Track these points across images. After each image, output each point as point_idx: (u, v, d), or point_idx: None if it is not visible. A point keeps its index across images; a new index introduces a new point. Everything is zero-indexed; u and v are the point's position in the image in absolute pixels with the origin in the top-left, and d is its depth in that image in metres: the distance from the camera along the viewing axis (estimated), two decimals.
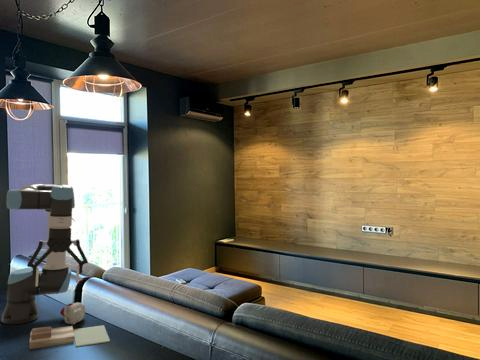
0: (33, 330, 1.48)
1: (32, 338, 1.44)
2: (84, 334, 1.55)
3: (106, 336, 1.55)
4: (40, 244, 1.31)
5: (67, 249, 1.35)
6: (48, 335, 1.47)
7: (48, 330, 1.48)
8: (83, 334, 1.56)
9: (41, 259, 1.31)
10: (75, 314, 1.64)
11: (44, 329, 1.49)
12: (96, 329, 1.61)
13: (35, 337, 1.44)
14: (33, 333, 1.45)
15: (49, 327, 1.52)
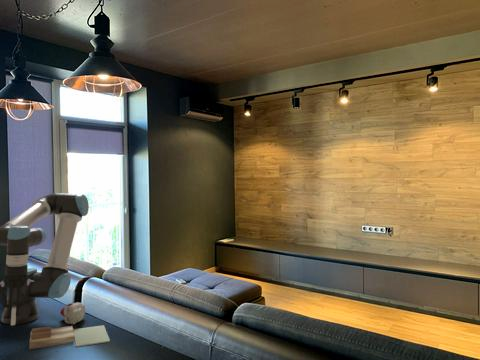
0: (33, 330, 1.48)
1: (32, 338, 1.44)
2: (84, 334, 1.55)
3: (106, 336, 1.55)
4: None
5: (18, 287, 1.43)
6: (48, 335, 1.47)
7: (48, 330, 1.48)
8: (83, 334, 1.56)
9: (10, 299, 1.42)
10: (75, 314, 1.64)
11: (44, 329, 1.49)
12: (96, 329, 1.61)
13: (35, 337, 1.44)
14: (33, 333, 1.45)
15: (49, 327, 1.52)
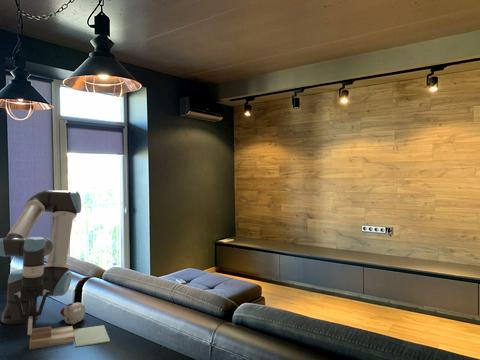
0: (33, 330, 1.48)
1: (32, 338, 1.44)
2: (84, 334, 1.55)
3: (106, 336, 1.55)
4: (16, 297, 1.43)
5: (35, 297, 1.46)
6: (48, 335, 1.47)
7: (48, 330, 1.48)
8: (83, 334, 1.56)
9: (27, 309, 1.45)
10: (75, 314, 1.64)
11: (44, 329, 1.49)
12: (96, 329, 1.61)
13: (35, 337, 1.44)
14: (33, 333, 1.45)
15: (49, 327, 1.52)
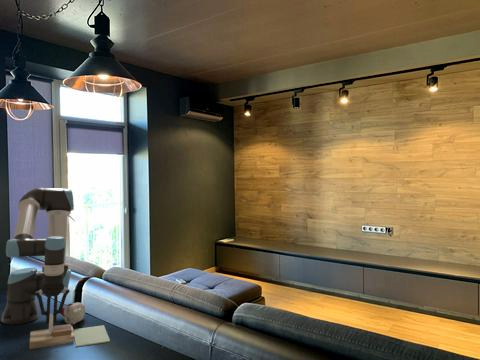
0: (54, 328, 1.51)
1: (53, 335, 1.47)
2: (84, 334, 1.55)
3: (106, 336, 1.55)
4: (37, 295, 1.47)
5: (55, 295, 1.49)
6: (69, 332, 1.50)
7: (69, 328, 1.52)
8: (83, 334, 1.56)
9: (48, 306, 1.48)
10: (75, 314, 1.64)
11: (64, 327, 1.53)
12: (96, 329, 1.61)
13: (56, 334, 1.48)
14: (54, 330, 1.48)
15: (69, 325, 1.55)
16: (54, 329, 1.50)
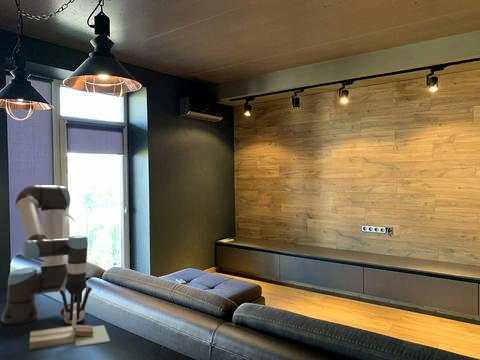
0: (76, 326, 1.56)
1: (76, 334, 1.51)
2: None
3: (106, 336, 1.55)
4: (61, 293, 1.51)
5: (79, 293, 1.53)
6: (90, 334, 1.54)
7: (91, 329, 1.56)
8: None
9: (71, 304, 1.52)
10: None
11: (86, 327, 1.57)
12: (96, 329, 1.61)
13: (79, 333, 1.52)
14: (77, 329, 1.53)
15: (90, 326, 1.59)
16: (77, 328, 1.54)
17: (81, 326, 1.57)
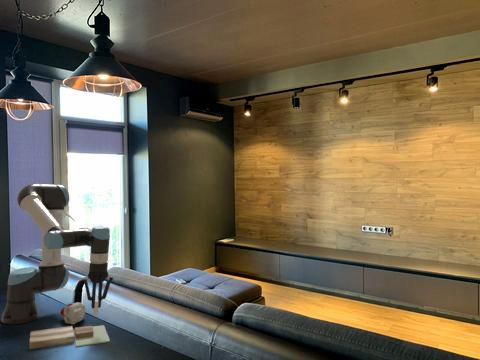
0: (76, 329, 1.55)
1: (76, 337, 1.51)
2: None
3: (106, 336, 1.55)
4: (84, 281, 1.55)
5: (101, 282, 1.58)
6: (91, 334, 1.54)
7: (91, 330, 1.56)
8: None
9: (94, 292, 1.57)
10: (75, 314, 1.64)
11: (86, 328, 1.57)
12: (96, 329, 1.61)
13: (79, 336, 1.52)
14: (77, 332, 1.53)
15: (90, 326, 1.59)
16: (77, 330, 1.54)
17: (81, 328, 1.57)
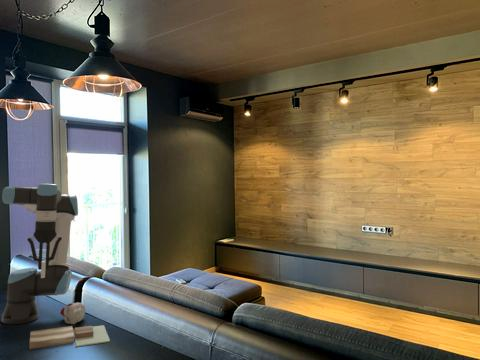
0: (76, 329, 1.55)
1: (76, 337, 1.51)
2: None
3: (106, 336, 1.55)
4: (29, 240, 1.46)
5: (48, 241, 1.49)
6: (91, 334, 1.54)
7: (91, 330, 1.56)
8: None
9: (40, 252, 1.48)
10: (75, 314, 1.64)
11: (86, 328, 1.57)
12: (96, 329, 1.61)
13: (79, 336, 1.52)
14: (77, 332, 1.53)
15: (90, 326, 1.59)
16: (77, 330, 1.54)
17: (81, 328, 1.57)
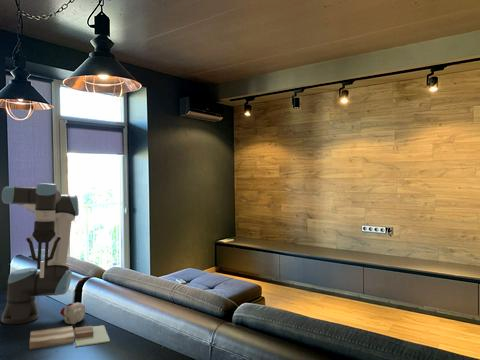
0: (76, 329, 1.55)
1: (76, 337, 1.51)
2: None
3: (106, 336, 1.55)
4: (28, 240, 1.46)
5: (47, 241, 1.49)
6: (91, 334, 1.54)
7: (91, 330, 1.56)
8: None
9: (39, 252, 1.48)
10: (75, 314, 1.64)
11: (86, 328, 1.57)
12: (96, 329, 1.61)
13: (79, 336, 1.52)
14: (77, 332, 1.53)
15: (90, 326, 1.59)
16: (77, 330, 1.54)
17: (81, 328, 1.57)
